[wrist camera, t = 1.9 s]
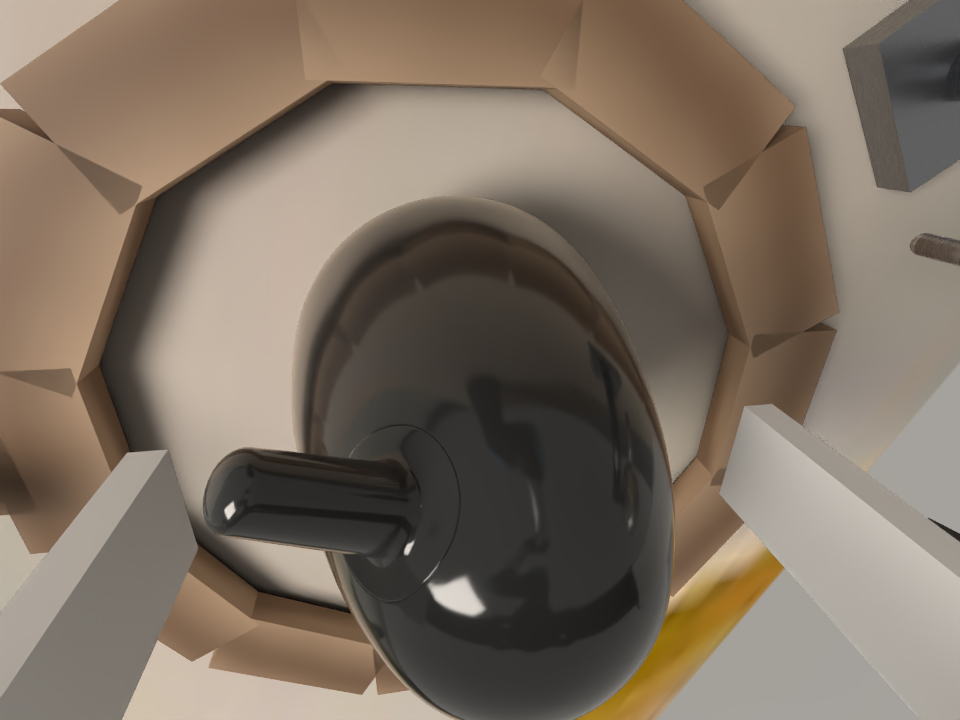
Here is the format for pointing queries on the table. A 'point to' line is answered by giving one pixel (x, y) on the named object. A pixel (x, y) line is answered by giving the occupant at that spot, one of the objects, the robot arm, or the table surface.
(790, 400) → the turntable ring
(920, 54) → the dial indicator stand
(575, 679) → the pump dispenser
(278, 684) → the table surface
